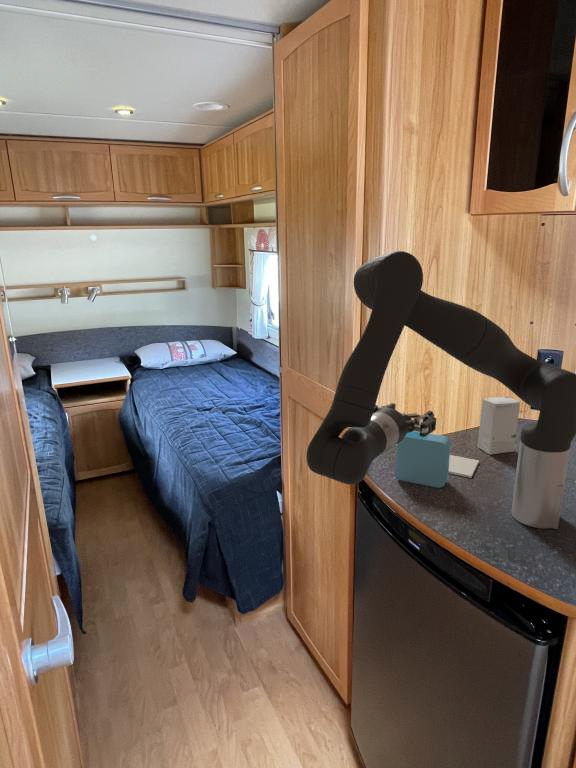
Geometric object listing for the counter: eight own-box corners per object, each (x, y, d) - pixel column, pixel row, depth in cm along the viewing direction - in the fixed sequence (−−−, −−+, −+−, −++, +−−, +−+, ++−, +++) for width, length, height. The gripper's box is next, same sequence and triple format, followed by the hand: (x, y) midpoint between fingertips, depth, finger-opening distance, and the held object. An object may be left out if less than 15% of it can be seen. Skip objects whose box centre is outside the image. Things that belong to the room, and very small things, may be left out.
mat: (478, 462, 133) (479, 460, 133) (471, 478, 125) (471, 475, 125) (426, 452, 140) (426, 450, 140) (415, 466, 132) (416, 464, 131)
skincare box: (489, 455, 137) (494, 404, 133) (476, 447, 143) (480, 397, 138) (515, 451, 139) (521, 401, 135) (501, 443, 145) (506, 394, 140)
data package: (447, 481, 123) (451, 436, 120) (444, 489, 120) (447, 443, 116) (400, 472, 129) (402, 429, 125) (395, 479, 125) (397, 435, 121)
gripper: (417, 421, 91) (446, 401, 104) (348, 406, 99) (383, 389, 112) (413, 458, 93) (442, 434, 106) (346, 441, 101) (380, 420, 114)
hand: (411, 411), depth 109 cm, fingers open, 8 cm apart
